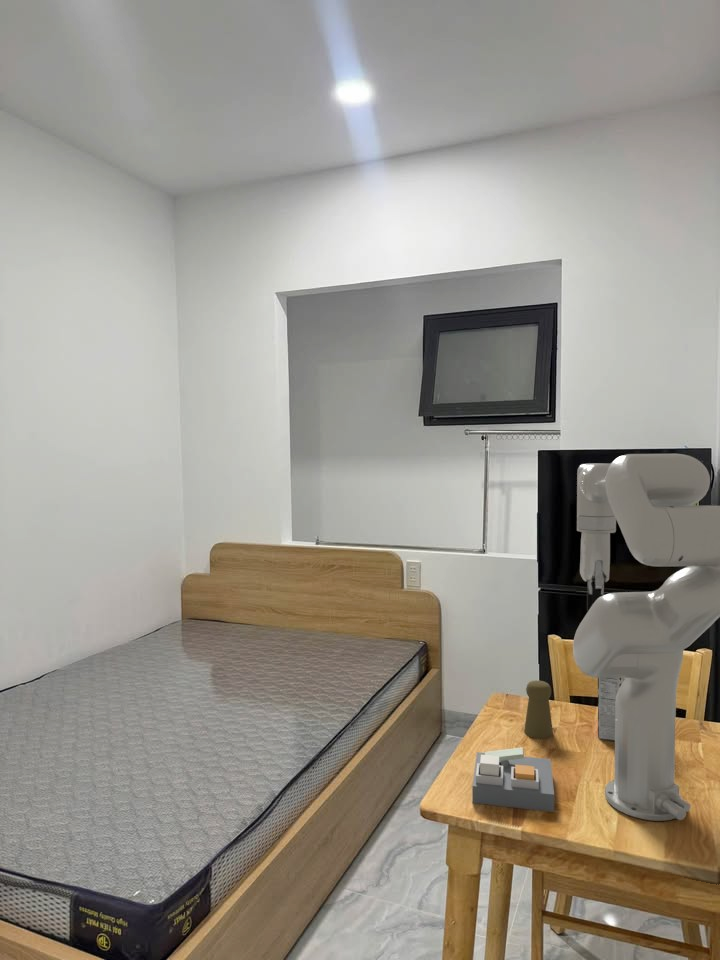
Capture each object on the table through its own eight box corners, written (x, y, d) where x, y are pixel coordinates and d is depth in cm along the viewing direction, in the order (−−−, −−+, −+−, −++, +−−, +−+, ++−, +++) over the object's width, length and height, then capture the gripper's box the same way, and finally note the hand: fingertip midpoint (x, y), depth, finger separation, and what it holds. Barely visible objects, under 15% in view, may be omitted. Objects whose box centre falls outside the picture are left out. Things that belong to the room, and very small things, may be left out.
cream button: (499, 767, 120) (499, 756, 120) (498, 775, 117) (498, 764, 117) (481, 765, 120) (481, 754, 120) (480, 774, 117) (480, 762, 117)
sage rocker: (523, 751, 124) (522, 747, 124) (523, 758, 122) (522, 754, 122) (486, 755, 126) (485, 751, 126) (485, 762, 123) (484, 758, 123)
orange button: (533, 777, 118) (533, 766, 118) (534, 786, 115) (534, 775, 115) (515, 775, 119) (515, 764, 119) (515, 784, 116) (515, 773, 116)
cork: (518, 730, 145) (518, 680, 145) (540, 724, 148) (540, 675, 147) (536, 741, 140) (536, 689, 139) (559, 735, 142) (559, 684, 142)
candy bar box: (601, 719, 151) (601, 647, 150) (625, 722, 149) (626, 649, 148) (596, 739, 140) (596, 662, 140) (621, 743, 138) (622, 665, 138)
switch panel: (550, 774, 126) (550, 752, 125) (554, 811, 113) (554, 787, 113) (476, 767, 129) (476, 745, 128) (472, 802, 116) (472, 778, 116)
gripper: (573, 519, 145) (573, 603, 146) (580, 528, 130) (579, 621, 131) (610, 520, 143) (609, 605, 144) (621, 528, 129) (620, 623, 130)
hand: (595, 612), depth 138 cm, fingers closed
